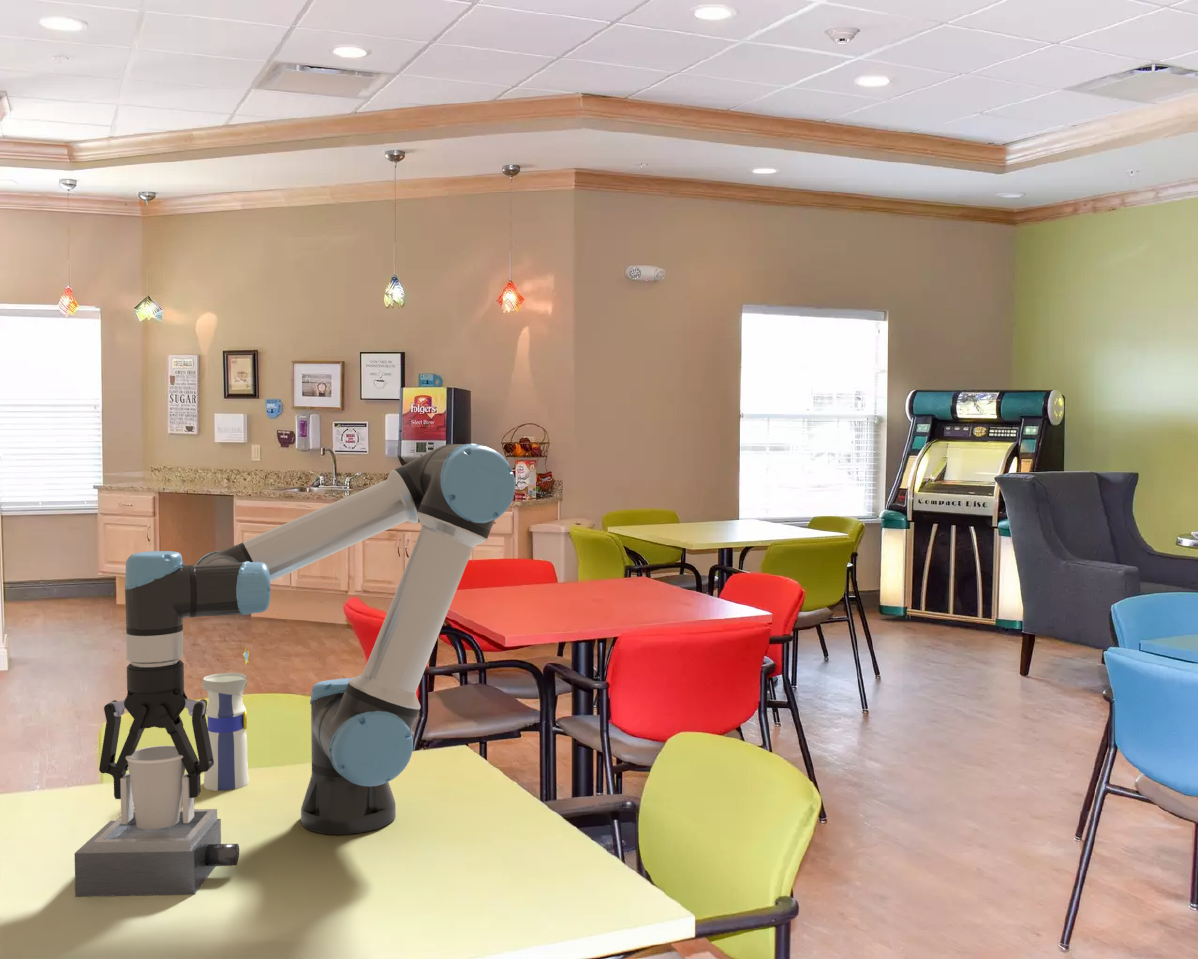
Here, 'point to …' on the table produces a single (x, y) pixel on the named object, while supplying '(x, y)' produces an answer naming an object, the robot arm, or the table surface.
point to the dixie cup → (156, 786)
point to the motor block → (152, 857)
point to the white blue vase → (227, 730)
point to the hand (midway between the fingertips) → (158, 820)
